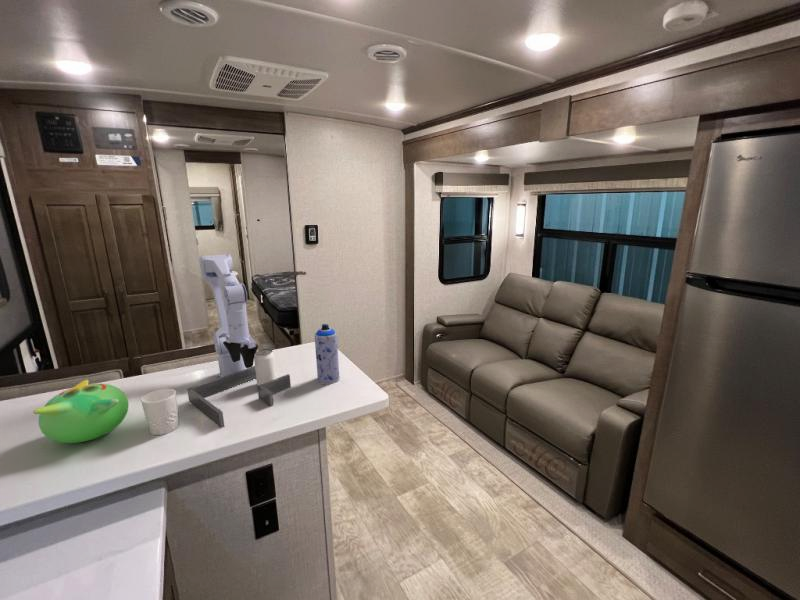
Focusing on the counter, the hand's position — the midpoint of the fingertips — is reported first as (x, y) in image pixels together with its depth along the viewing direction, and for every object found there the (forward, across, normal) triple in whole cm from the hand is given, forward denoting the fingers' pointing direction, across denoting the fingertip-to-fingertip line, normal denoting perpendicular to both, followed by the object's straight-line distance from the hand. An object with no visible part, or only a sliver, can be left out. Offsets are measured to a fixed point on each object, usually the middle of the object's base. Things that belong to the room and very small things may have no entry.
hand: (242, 364), depth 118 cm
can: (+11, 0, +8) cm, 13 cm away
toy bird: (+11, -11, -38) cm, 41 cm away
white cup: (+10, 0, -24) cm, 26 cm away
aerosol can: (+10, +14, +23) cm, 29 cm away
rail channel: (+10, +2, -1) cm, 11 cm away
